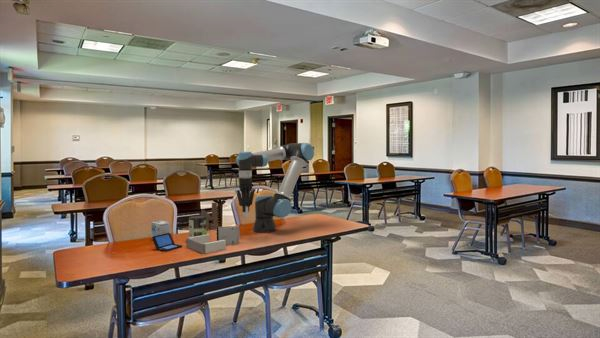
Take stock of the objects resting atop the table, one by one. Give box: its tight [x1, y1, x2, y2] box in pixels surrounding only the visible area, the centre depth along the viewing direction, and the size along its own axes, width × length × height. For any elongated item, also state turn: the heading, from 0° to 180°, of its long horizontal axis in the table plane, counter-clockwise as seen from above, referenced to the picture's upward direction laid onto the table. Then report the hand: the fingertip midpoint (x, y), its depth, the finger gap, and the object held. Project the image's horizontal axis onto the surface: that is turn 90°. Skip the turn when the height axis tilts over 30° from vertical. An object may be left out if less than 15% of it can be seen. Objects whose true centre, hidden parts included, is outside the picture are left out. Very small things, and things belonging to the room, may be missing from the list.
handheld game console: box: [151, 232, 183, 253], centre depth 214 cm, size 12×11×7 cm
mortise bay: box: [185, 233, 227, 255], centre depth 213 cm, size 14×20×5 cm
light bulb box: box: [151, 220, 171, 238], centre depth 235 cm, size 11×7×11 cm, turn 47°
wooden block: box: [201, 201, 220, 231], centre depth 263 cm, size 4×11×18 cm, turn 130°
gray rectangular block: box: [216, 224, 240, 246], centre depth 221 cm, size 14×5×10 cm, turn 119°
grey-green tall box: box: [188, 214, 208, 238], centre depth 232 cm, size 10×10×14 cm
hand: (245, 217), depth 229 cm, fingers closed
